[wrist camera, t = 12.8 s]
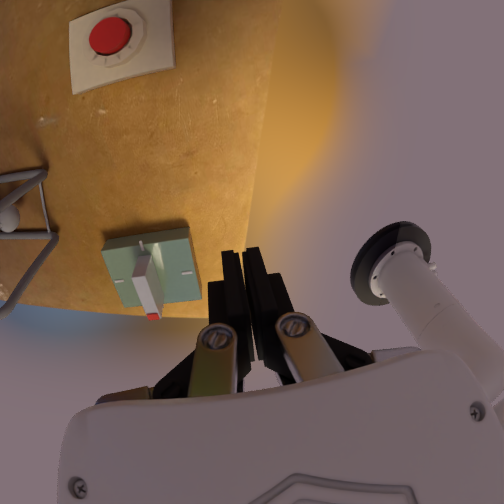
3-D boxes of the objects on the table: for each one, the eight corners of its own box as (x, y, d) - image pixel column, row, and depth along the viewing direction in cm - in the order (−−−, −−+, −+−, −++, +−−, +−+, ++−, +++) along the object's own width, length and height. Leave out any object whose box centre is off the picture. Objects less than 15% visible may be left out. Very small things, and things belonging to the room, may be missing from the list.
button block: (171, -4, 18) (167, -16, 15) (176, 68, 24) (171, 64, 20) (76, 24, 17) (62, 19, 14) (80, 94, 23) (65, 95, 19)
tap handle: (138, 255, 32) (130, 279, 28) (151, 254, 32) (144, 277, 29) (152, 297, 36) (148, 321, 32) (164, 295, 36) (161, 320, 32)
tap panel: (188, 222, 34) (187, 234, 32) (202, 289, 40) (202, 303, 38) (105, 235, 33) (98, 247, 31) (129, 297, 39) (125, 311, 37)
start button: (130, 16, 17) (125, 11, 15) (131, 47, 19) (126, 45, 17) (94, 27, 16) (88, 24, 15) (95, 58, 18) (89, 57, 17)
